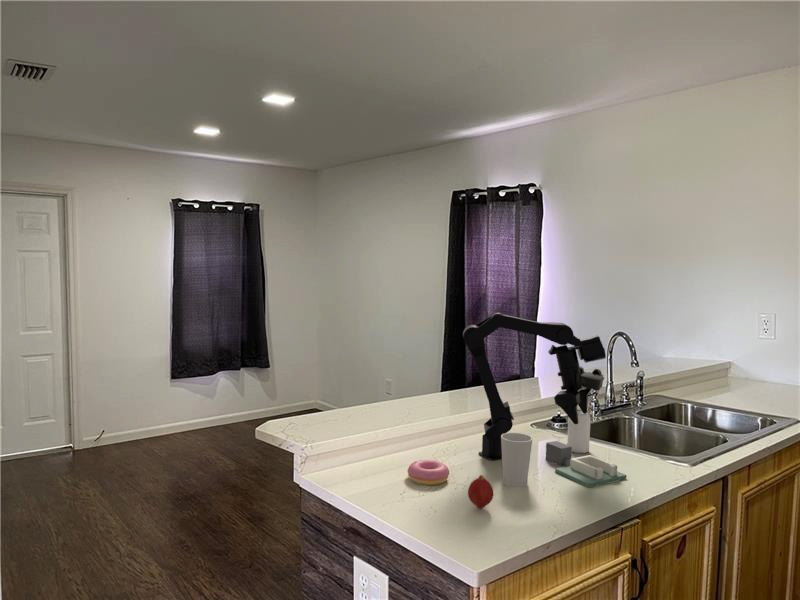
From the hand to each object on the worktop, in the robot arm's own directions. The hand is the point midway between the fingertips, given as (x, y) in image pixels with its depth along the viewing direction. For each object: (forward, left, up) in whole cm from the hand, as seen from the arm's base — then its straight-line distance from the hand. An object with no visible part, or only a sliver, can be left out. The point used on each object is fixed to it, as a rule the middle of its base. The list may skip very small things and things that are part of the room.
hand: (580, 418), depth 171 cm
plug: (-6, +2, -12) cm, 14 cm away
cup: (-28, -5, -13) cm, 31 cm away
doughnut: (-47, +7, -13) cm, 49 cm away
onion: (-46, -14, -13) cm, 50 cm away
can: (+7, +7, -13) cm, 16 cm away
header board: (-6, -10, -12) cm, 17 cm away
